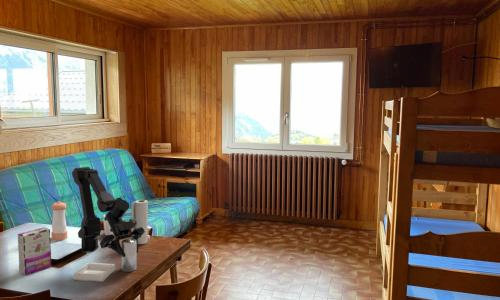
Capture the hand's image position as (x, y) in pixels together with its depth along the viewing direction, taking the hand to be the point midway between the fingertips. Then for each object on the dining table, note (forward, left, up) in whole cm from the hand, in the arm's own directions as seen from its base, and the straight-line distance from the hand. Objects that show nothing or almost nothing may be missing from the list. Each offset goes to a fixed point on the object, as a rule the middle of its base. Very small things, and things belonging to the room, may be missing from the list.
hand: (130, 254), depth 166 cm
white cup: (-28, +44, -7) cm, 52 cm away
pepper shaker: (-50, +32, -7) cm, 60 cm away
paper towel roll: (-8, +33, -7) cm, 35 cm away
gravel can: (-1, +1, -7) cm, 7 cm away
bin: (-12, -7, -7) cm, 16 cm away
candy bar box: (-38, -6, -7) cm, 39 cm away
